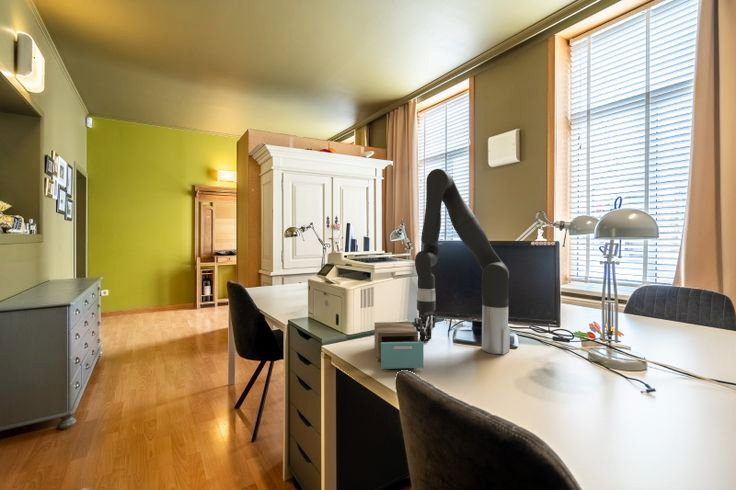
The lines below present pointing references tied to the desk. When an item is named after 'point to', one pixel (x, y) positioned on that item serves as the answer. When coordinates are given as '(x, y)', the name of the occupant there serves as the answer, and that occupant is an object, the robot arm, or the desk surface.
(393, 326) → the drawer box
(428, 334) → the smartwatch
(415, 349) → the teal pull-out drawer
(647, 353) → the desk surface
